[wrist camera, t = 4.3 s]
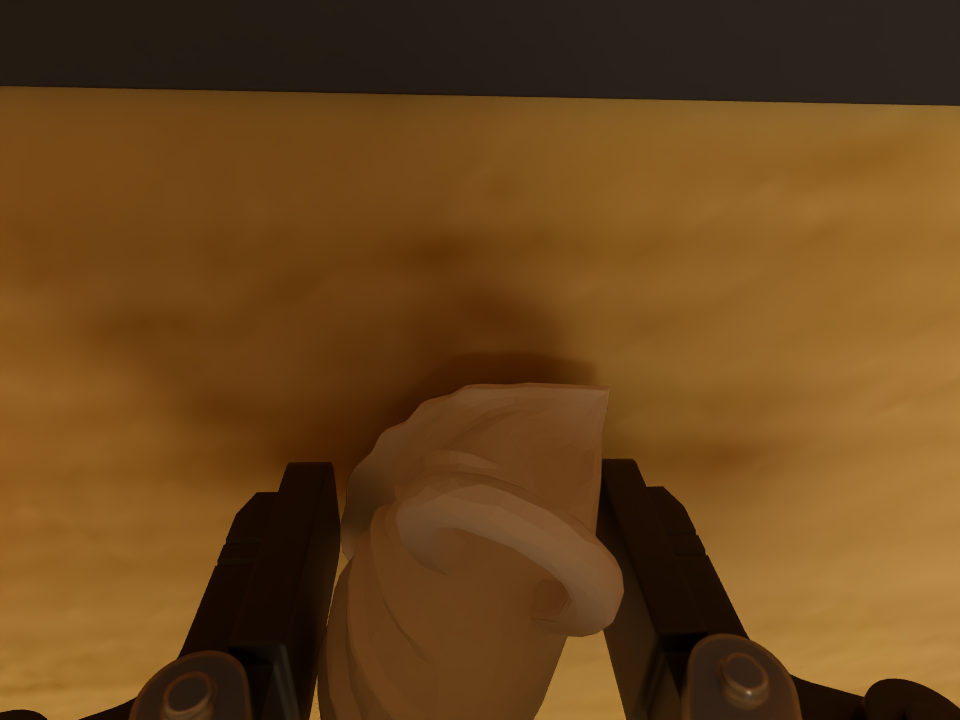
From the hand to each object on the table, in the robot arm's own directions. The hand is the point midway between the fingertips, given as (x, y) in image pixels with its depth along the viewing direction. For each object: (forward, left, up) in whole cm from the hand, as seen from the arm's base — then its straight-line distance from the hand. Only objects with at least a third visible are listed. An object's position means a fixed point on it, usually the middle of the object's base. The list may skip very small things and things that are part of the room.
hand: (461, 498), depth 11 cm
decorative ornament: (0, 0, -1) cm, 1 cm away
